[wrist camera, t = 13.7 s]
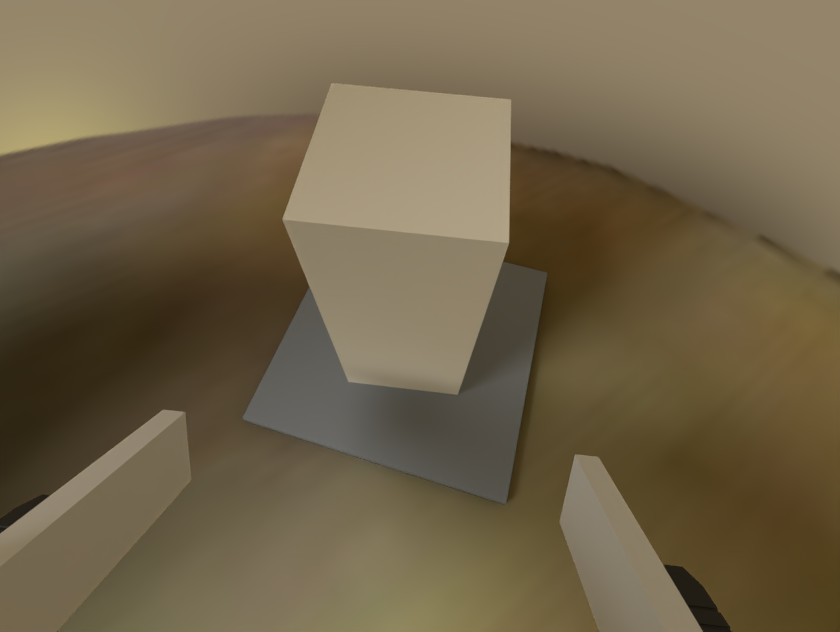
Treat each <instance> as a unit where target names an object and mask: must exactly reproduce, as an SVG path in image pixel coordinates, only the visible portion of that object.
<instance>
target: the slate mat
mask: <svg viewBox="0 0 840 632" xmlns="http://www.w3.org/2000/svg"><path fill="white" fill-rule="evenodd" d="M547 274H548V273H547V272H543V271H539V270H535V269H531V268H527V267H523V266H519V265H515V264H511V263H507V262H503V263H502V266H501V269H500V271H499V274H498V277H497V280H496V283H495V286H494V289H493V292H492V295H491V298H490V301H489V304H488V307H487V310H486V313H485V316H484V319H483V322H482V325H481V328H480V331H479V334H478V337H477V339H476V342H475V345H474V348H473V351H472V354H471V357H470V360H469V363H468V366H467V369H466V372H465V375H464V378H463V381H462V384H461V387H460V390H459V393H458V395H455V394H447V393H438V392H430V391H421V390H413V389H404V388H396V387H387V386H379V385H371V384H362V383H354V382H348V380H347V377H346V375H345V372H344V370H343V367H342V365H341V362H340V360H339V357H338V355H337V353H336V350H335V348H334V345H333V343H332V340H331V338H330V335H329V333H328V330H327V328H326V326H325V323H324V321H323V318H322V316H321V313H320V311H319V308H318V306H317V303H316V301H315V299H314V296H313V294H312V291H311V289H310V286H309V288H308V290H307V292H306V294H305V296H304V298H303V300H302V302H301V304H300V306H299V308H298V310H297V312H296V314H295V316H294V318H293V320H292V322H291V323H290V325H289V327H288V329H287V331H286V333H285V335H284V337H283V339H282V341H281V343H280V345H279V347H278V349H277V351H276V353H275V355H274V357H273V359H272V361H271V363H270V365H269V367H268V369H267V371H266V373H265V374H264V376H263V378H262V380H261V382H260V384H259V386H258V388H257V390H256V392H255V394H254V396H253V398H252V400H251V402H250V404H249V406H248V408H247V410H246V412H245V414H244V416H243V418H242V419H243V420H245V421H246V422H249V423H252V424H255V425H259V426H262V427H265V428H268V429H271V430H274V431H277V432H280V433H283V434H286V435H290V436H293V437H296V438H299V439H302V440H305V441H308V442H311V443H314V444H317V445H321V446H324V447H327V448H330V449H333V450H336V451H339V452H342V453H345V454H348V455H352V456H355V457H358V458H361V459H364V460H367V461H370V462H373V463H376V464H380V465H383V466H386V467H389V468H392V469H395V470H398V471H401V472H404V473H407V474H411V475H414V476H417V477H420V478H423V479H426V480H429V481H432V482H435V483H438V484H442V485H445V486H448V487H451V488H454V489H457V490H460V491H463V492H466V493H469V494H473V495H476V496H479V497H482V498H485V499H488V500H491V501H494V502H497V503H500V504H506V502H507V497H508V491H509V486H510V480H511V474H512V469H513V463H514V458H515V452H516V447H517V441H518V435H519V430H520V424H521V419H522V413H523V407H524V402H525V396H526V391H527V385H528V380H529V374H530V368H531V363H532V357H533V352H534V346H535V341H536V335H537V329H538V324H539V318H540V313H541V307H542V301H543V296H544V290H545V285H546V279H547Z"/></svg>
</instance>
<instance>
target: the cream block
mask: <svg viewBox="0 0 840 632" xmlns="http://www.w3.org/2000/svg"><path fill="white" fill-rule="evenodd" d="M510 143H511V99H501V98H490V97H479V96H468V95H457V94H445V93H435V92H424V91H413V90H402V89H391V88H390V89H389V88H379V87H368V86H358V85H347V84H336V83H332V84H331V87H330V89H329V92H328V95H327V97H326V100H325V103H324V106H323V108H322V111H321V114H320V117H319V119H318V122H317V125H316V128H315V130H314V133H313V136H312V139H311V142H310V144H309V147H308V150H307V153H306V155H305V158H304V161H303V164H302V166H301V169H300V172H299V175H298V177H297V180H296V183H295V186H294V188H293V191H292V194H291V197H290V200H289V202H288V205H287V208H286V211H285V213H284V216H283V219H282V220H283V223H284V225H285V227H286V230H287V232H288V235H289V237H290V240H291V242H292V245H293V247H294V250H295V252H296V254H297V257H298V259H299V262H300V264H301V267H302V269H303V272H304V274H305V276H306V279H307V281H308V284H309V286H310V289H311V291H312V294H313V296H314V299H315V301H316V303H317V306H318V308H319V311H320V313H321V316H322V318H323V321H324V323H325V326H326V328H327V330H328V333H329V335H330V338H331V340H332V343H333V345H334V348H335V350H336V353H337V355H338V357H339V360H340V362H341V365H342V367H343V370H344V372H345V375H346V377H347V380H348V382H354V383H362V384H371V385H379V386H387V387H396V388H404V389H413V390H421V391H430V392H438V393H447V394H455V395H458V393H459V390H460V387H461V384H462V381H463V378H464V375H465V372H466V369H467V366H468V363H469V360H470V357H471V354H472V351H473V348H474V345H475V342H476V339H477V337H478V334H479V331H480V328H481V325H482V322H483V319H484V316H485V313H486V310H487V307H488V304H489V301H490V298H491V295H492V292H493V289H494V286H495V283H496V280H497V277H498V274H499V271H500V269H501V266H502V263H503V260H504V257H505V254H506V251H507V248H508V245H509V215H510Z"/></svg>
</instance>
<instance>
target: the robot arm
mask: <svg viewBox="0 0 840 632" xmlns="http://www.w3.org/2000/svg"><path fill="white" fill-rule="evenodd" d="M190 481H191V472H190V460H189V449H188V437H187V426H186V414H185V412H181V411H171V410H162V411H161V412H159V413H158V414H157V415H155V416H154V417H153V418H151V419H150V420H149V421H148V422H146V423H145V424H144V425H142V426H141V427H140V428H138V429H137V430H136V431H134V432H133V433H132V434H130V435H129V436H128V437H127V438H125V439H124V440H123V441H121V442H120V443H119V444H117V445H116V446H115V447H113V448H112V449H111V450H109V451H108V452H107V453H106V454H104V455H103V456H102V457H100V458H99V459H98V460H96V461H95V462H94V463H92V464H91V465H90V466H88V467H87V468H86V469H84V470H83V471H82V472H81V473H79V474H78V475H77V476H75V477H74V478H73V479H71V480H70V481H69V482H67V483H66V484H65V485H63V486H62V487H61V488H60V489H58V490H57V491H56V492H54V493H53V494H52V495H41V496H39V497H37V498H35V499H33V500H31V501H29V502H27V503H25V504H23V505H21V506H19V507H17V508H15V509H14V510H12V511H11V512H9V513H8V514H7V515H5V516H4V517H3V518H1V519H0V632H57V631H58V630H59V629H60V628H61V627H62V625H63V624H64V623H65V622H66V621H67V620H68V619H69V618H70V616H71V615H72V614H73V613H74V612H75V611H76V610H77V609H78V607H79V606H80V605H81V604H82V603H83V602H84V601H85V599H86V598H87V597H88V596H89V595H90V594H91V593H92V592H93V590H94V589H95V588H96V587H97V586H98V585H99V584H100V583H101V581H102V580H103V579H104V578H105V577H106V576H107V575H108V574H109V572H110V571H111V570H112V569H113V568H114V567H115V566H116V565H117V563H118V562H119V561H120V560H121V559H122V558H123V557H124V556H125V554H126V553H127V552H128V551H129V550H130V549H131V548H132V547H133V545H134V544H135V543H136V542H137V541H138V540H139V539H140V538H141V536H142V535H143V534H144V533H145V532H146V531H147V530H148V528H149V527H150V526H151V525H152V524H153V523H154V522H155V521H156V519H157V518H158V517H159V516H160V515H161V514H162V513H163V512H164V510H165V509H166V508H167V507H168V506H169V505H170V504H171V503H172V501H173V500H174V499H175V498H176V497H177V496H178V495H179V494H180V492H181V491H182V490H183V489H184V488H185V487H186V486H187V485H188V483H189V482H190ZM559 522H560V525H561V528H562V531H563V533H564V536H565V539H566V542H567V544H568V547H569V550H570V553H571V556H572V558H573V561H574V564H575V567H576V570H577V572H578V575H579V578H580V581H581V584H582V586H583V589H584V592H585V595H586V597H587V600H588V603H589V606H590V609H591V611H592V614H593V617H594V620H595V623H596V625H597V628H598V631H599V632H731V631H730V626H729V625H728V623H727V622H726V620H725V619H724V617H723V616H722V614H721V613H718V610H717V609H718V608H717V607H716V605H715V604H714V602H713V601H712V599H711V598H710V596H709V595H708V593H707V592H706V590H705V589H704V587H703V586H702V585H701V584H700V583H699V582H698V581H697V580H695V579H694V578H693V577H692V576H691V575H690V574H689V573H688V572H687V571H686V570H685V569H684V568H683V567H679V566H670V565H663V564H662V562H661V561H660V559H659V557H658V556H657V554H656V552H655V551H654V549H653V547H652V546H651V544H650V542H649V541H648V539H647V537H646V536H645V534H644V532H643V531H642V529H641V527H640V526H639V524H638V522H637V521H636V519H635V517H634V516H633V514H632V512H631V511H630V509H629V507H628V506H627V504H626V502H625V501H624V499H623V497H622V496H621V494H620V492H619V490H618V489H617V487H616V485H615V484H614V482H613V480H612V479H611V477H610V475H609V474H608V472H607V470H606V469H605V467H604V465H603V464H602V462H601V460H600V459H599V457H596V456H587V455H577V454H575V456H574V461H573V465H572V469H571V474H570V478H569V482H568V487H567V491H566V495H565V500H564V504H563V508H562V513H561V517H560V521H559Z"/></svg>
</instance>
